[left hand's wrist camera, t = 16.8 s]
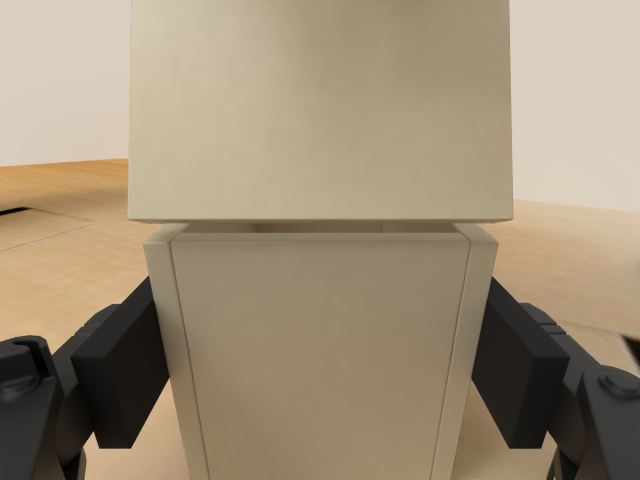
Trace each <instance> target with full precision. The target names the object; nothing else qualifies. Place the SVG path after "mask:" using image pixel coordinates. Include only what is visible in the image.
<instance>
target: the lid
mask: <svg viewBox="0 0 640 480" xmlns="http://www.w3.org/2000/svg"><path fill="white" fill-rule="evenodd" d="M510 75H511V74H510V22H509V0H131V49H130V105H129V162H128V220H130V221H135V222H141V223H147V224H159V223H498V222H504V221H510V220H512V219H513V181H512V127H511V76H510Z"/></svg>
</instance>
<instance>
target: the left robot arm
mask: <svg viewBox="0 0 640 480" xmlns="http://www.w3.org/2000/svg"><path fill="white" fill-rule="evenodd" d="M168 379H169V372H168V367H167V362H166V357H165V352H164V347H163V342H162V337H161V332H160V327H159V322H158V317H157V312H156V307H155V302H154V297H153V292H152V287H151V282H150V277H149V276H148V277H147V278H146V279H145V280H144V281H143V282H142V283H141V284H140V285H139V286H138V287H137V288H136V289H135V290H134V291H133V292H132V293H131V294H130V295H129V296H128V297H127V298H126V299H125V300H124V301H123V302H122V303H121V304H112V305H110V306H108V307H106V308H105V309H103V310H101V311H99V312H98V313H96V314H95V315H94V316H93V317H92V318H91V319H89V320H88V321H87V322H86V323H85V324H84V327H81V328H80V329H79V330H78V331H77V332H76V333H75V335H74V336H72V337H71V338H70V339H68V340H67V341H66V342H65V343H64V344H63V345H62V346H61V347H60V348H59V349H58V350H57V351H56V352H55V353H54V354H53V355H52V356H51V353H50V350H49V347H48V344H47V341H46V339H44V338H42V337H41V336H32V335H28V336H21V337H15V338H11V339H8V340H5V341H2V342H0V480H84V478H85V469H86V455H85V451H84V448H83V446H84V444H85V443H86V441H87V440H88V439H89V437H90V436H91V434H92V433H93V431H94V434H95V437H96V440H97V443H98V446H99V449H131V448H132V446H133V444H134V442H135V440H136V438H137V436H138V435H139V433H140V431H141V429H142V427H143V425H144V424H145V422H146V420H147V418H148V416H149V414H150V413H151V411H152V409H153V407H154V405H155V403H156V401H157V400H158V398H159V396H160V394H161V392H162V390H163V389H164V387H165V385H166V383H167V381H168ZM471 379H472V381H473V382H474V384H475V386H476V388H477V390H478V392H479V393H480V395H481V397H482V399H483V401H484V403H485V404H486V406H487V408H488V410H489V412H490V414H491V416H492V417H493V419H494V421H495V423H496V425H497V427H498V428H499V430H500V432H501V434H502V436H503V438H504V440H505V441H506V443H507V445H508V447H509V449H541V447H542V444H543V441H544V438H545V435H546V432H547V430H548V432H549V433H550V435H551V436H552V438H553V439H554V440H555V442H556V443H557V448H556V451H555V454H554V457H553V460H552V463H551V466H550V468H549V471H548V474H547V479H546V480H553V479H554V477H556V480H640V378H638V377H636V376H635V375H633V374H631V373H629V372H626V371H624V370H621V369H618V368H615V367H611V366H605V365H600V364H599V363H598V362H597V361H596V360H595V359H594V358H593V357H592V356H591V355H590V354H588V353H587V352H586V351H585V350H584V349H583V348H582V347H581V346H580V345H579V344H578V343H577V342H576V341H575V340H574V339H573V338H572V337H571V336H569V335H566V332H565V331H564V330H563V329H562V328H561V327H560V326H557V323H556V322H555V321H554V320H553V319H551V318H550V317H549V316H548V315H547V314H546V313H545V312H543V311H542V310H540V309H538V308H536V307H535V306H533V305H531V304H529V303H518V302H517V301H516V300H515V299H514V298H513V297H512V296H511V295H510V294H509V293H508V292H507V291H506V290H505V289H504V288H503V287H502V286H501V285H500V284H499V283H498V282H497V281H496V279H495V278H494V277H493V276H492V278H491V283H490V288H489V292H488V297H487V301H486V306H485V311H484V316H483V321H482V326H481V331H480V336H479V341H478V346H477V351H476V356H475V361H474V365H473V370H472V375H471Z"/></svg>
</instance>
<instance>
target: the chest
mask: <svg viewBox="0 0 640 480" xmlns="http://www.w3.org/2000/svg"><path fill="white" fill-rule="evenodd" d="M143 247H144V252H145V257H146V262H147V267H148V272H149V277H150V282H151V287H152V292H153V297H154V302H155V307H156V312H157V317H158V322H159V327H160V332H161V337H162V342H163V347H164V352H165V357H166V362H167V367H168V372H169V377H170V382H171V387H172V392H173V397H174V402H175V407H176V412H177V417H178V422H179V427H180V432H181V437H182V442H183V447H184V452H185V457H186V462H187V467H188V472H189V477H190V480H451V475H452V470H453V466H454V461H455V456H456V451H457V446H458V441H459V436H460V431H461V426H462V421H463V416H464V411H465V406H466V401H467V396H468V391H469V386H470V381H471V375H472V370H473V365H474V361H475V356H476V351H477V346H478V341H479V336H480V331H481V326H482V321H483V316H484V311H485V306H486V301H487V297H488V292H489V288H490V283H491V278H492V273H493V268H494V263H495V258H496V253H497V248H498V241H497V240H495V239H494V238H493V237H492V236H490V235H489V234H488V233H487V232H485V231H484V230H483V229H482V228H480V227H479V226H478V225H477V224H475V223H166V224H165V225H163V226H162V227H161V228H160V229H159V230H157V231H156V232H155V233H154V234H152V235H151V236H150V237H149V238H147V239H146V240H145V241H144V242H143Z"/></svg>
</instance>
